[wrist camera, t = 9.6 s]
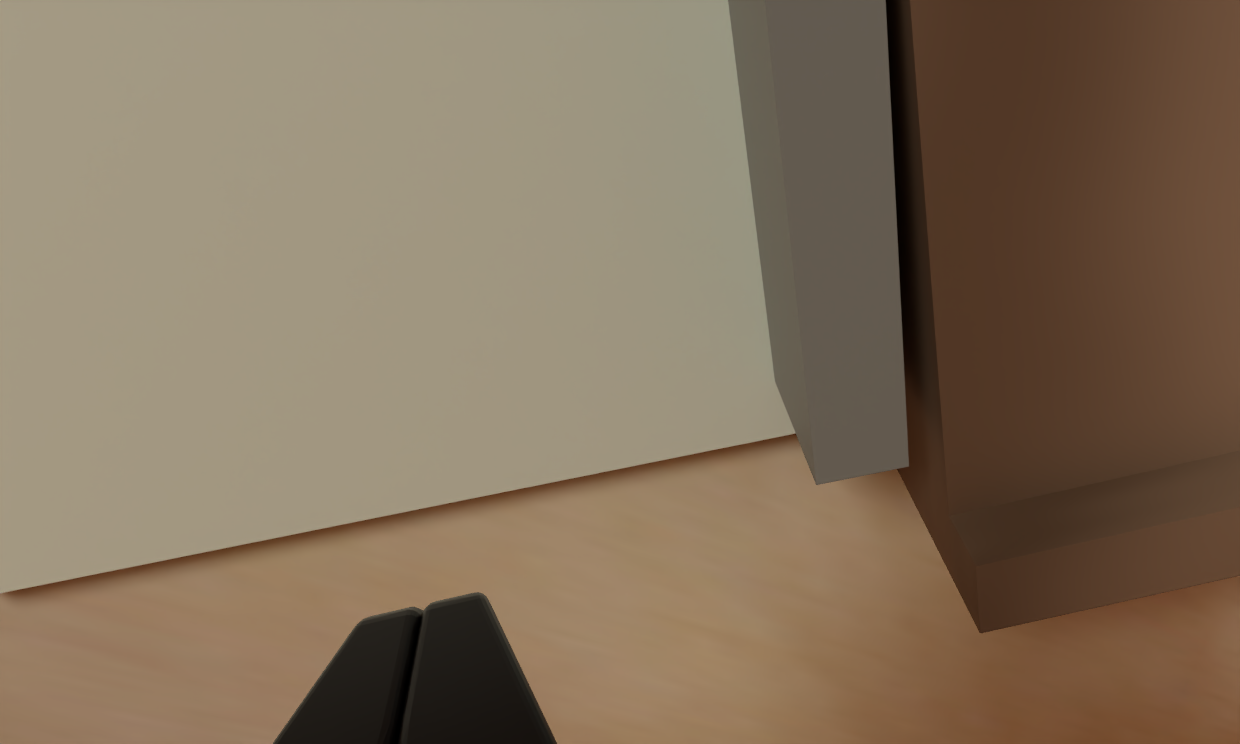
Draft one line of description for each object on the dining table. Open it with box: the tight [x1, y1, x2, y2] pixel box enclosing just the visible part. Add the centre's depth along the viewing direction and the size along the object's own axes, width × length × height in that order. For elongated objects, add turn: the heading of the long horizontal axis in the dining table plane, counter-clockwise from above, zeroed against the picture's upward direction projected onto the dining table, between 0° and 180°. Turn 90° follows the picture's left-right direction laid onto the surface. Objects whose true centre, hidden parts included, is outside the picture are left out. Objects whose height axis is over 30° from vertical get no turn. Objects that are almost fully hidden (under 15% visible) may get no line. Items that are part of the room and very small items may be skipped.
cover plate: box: [0, 0, 909, 593], centre depth 14 cm, size 14×10×4 cm
